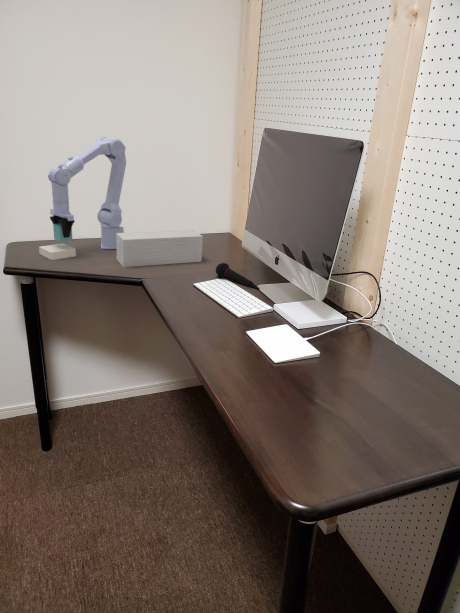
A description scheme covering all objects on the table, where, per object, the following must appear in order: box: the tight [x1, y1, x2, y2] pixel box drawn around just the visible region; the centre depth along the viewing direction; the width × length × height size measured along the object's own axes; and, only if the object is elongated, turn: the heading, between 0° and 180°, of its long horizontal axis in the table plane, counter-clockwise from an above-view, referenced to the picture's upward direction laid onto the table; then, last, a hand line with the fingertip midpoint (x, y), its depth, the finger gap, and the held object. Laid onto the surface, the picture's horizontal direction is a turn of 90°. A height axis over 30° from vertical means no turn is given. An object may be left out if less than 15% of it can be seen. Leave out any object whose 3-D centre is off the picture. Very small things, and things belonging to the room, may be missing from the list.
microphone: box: [215, 262, 260, 290], centre depth 165 cm, size 6×6×20 cm
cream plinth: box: [38, 242, 77, 261], centre depth 181 cm, size 10×10×3 cm
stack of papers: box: [115, 229, 204, 268], centre depth 183 cm, size 32×11×11 cm, turn 117°
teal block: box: [52, 223, 73, 243], centre depth 180 cm, size 5×5×6 cm
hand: (63, 235), depth 180 cm, fingers closed on teal block, 5 cm apart
